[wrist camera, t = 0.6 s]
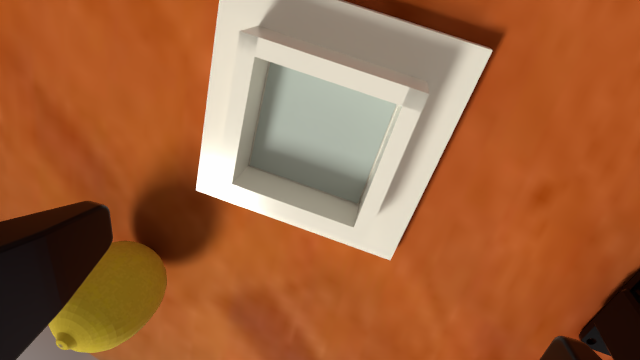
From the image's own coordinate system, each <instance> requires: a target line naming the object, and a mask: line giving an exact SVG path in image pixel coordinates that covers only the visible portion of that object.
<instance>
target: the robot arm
mask: <svg viewBox="0 0 640 360" xmlns="http://www.w3.org/2000/svg"><path fill="white" fill-rule="evenodd" d="M112 239H113V234H112V226H111V218H110V211H109V209H108V208H107V206H105V205H103V204H99V203H96V202H92V201H83V202H79V203H75V204H71V205H67V206H63V207H59V208H55V209H51V210H47V211H42V212H38V213H34V214H30V215H26V216H22V217H18V218H14V219H10V220H6V221H2V222H0V360H16V359H17V358H18V357H19V356H20V354H22V353H23V352H24V350H25V349H26V348H27V347H28V346H29V345H30V344H31V343H32V342H33V341H34V340H35V338H36V337H37V336H38V335H39V334H40V333H41V332H42V331H43V330H44V329H45V328H46V327H47V326H48V324H49V323H50V322H51V321H52V320H53V319H54V318H55V317H56V316H57V314H58V313H59V312H60V311H61V310H62V309H63V308H64V306H65V305H66V304H67V303H68V301H69V300H70V299H71V298H72V296H73V295H74V294H75V292H76V291H77V290H78V288H79V287H80V286H81V284H82V283H83V282H84V281H85V279H86V278H87V277H88V275H89V274H90V273H91V271H92V270H93V269H94V267H95V266H96V265H97V264H98V262H99V261H100V260H101V258H102V257H103V256H104V254H105V253H106V252H107V250H108V249H109V247H110V246H111V243H112ZM590 338H591V339H590ZM579 339H580V341H579V340H576V339H572V338H569V337H565V336H558V337H556V338H555V339H554V340H553V341H552V343H551V344H550V345H549V347H548V348H547V350H546V351H545V353H544V354H543V356H542V357H541V359H540V360H602V359H601V358H600V357H599V356H598V355H597V354H596V353H595V352H594V351H593V350H596V351H599V352H601V353H604V354H607V355H610V356H612V358H613V360H640V271H639V272H638V273H637V274H636V275H635V276H634V277H633V278H632V279H631V280H630V281H629V282H628V283H627V284H626V285H625V286H624V287H623V288H622V289H621V290H620V291H619V293H618V294H617V295H616V296H615V297H614V298H613V299H612V300H611V301H610V302H609V303H608V304H607V305H606V306H605V307H604V308H603V309H602V310H601V311H600V312H599V313H598V315H597V316H596V317H595V318H594V319H593V320H592V321H591V322H590V323H589V324H588V325H587V326H586V327H585V328H584V329H583V330H582V331H581V332H580V334H579ZM592 349H593V350H592Z"/></svg>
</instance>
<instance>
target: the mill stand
mask: <svg viewBox="0 0 640 360" xmlns="http://www.w3.org/2000/svg"><path fill="white" fill-rule="evenodd" d="M492 51H493V50H492V49H491V48H489V47H486V46H483V45H480V44H477V43H474V42H471V41H468V40H465V39H462V38H458V37H455V36H452V35H449V34H446V33H443V32H440V31H437V30H434V29H430V28H427V27H424V26H421V25H418V24H415V23H412V22H409V21H406V20H403V19H399V18H396V17H393V16H390V15H387V14H384V13H381V12H378V11H375V10H372V9H368V8H365V7H362V6H359V5H356V4H353V3H350V2H347V1H344V0H219V7H218V15H217V24H216V32H215V40H214V48H213V56H212V64H211V72H210V80H209V88H208V96H207V104H206V113H205V121H204V129H203V137H202V145H201V153H200V161H199V169H198V177H197V185H196V191H199V192H202V193H205V194H207V195H210V196H213V197H216V198H219V199H221V200H224V201H227V202H230V203H232V204H235V205H238V206H241V207H244V208H246V209H249V210H252V211H255V212H257V213H260V214H263V215H266V216H269V217H271V218H274V219H277V220H280V221H282V222H285V223H288V224H291V225H294V226H296V227H299V228H302V229H305V230H307V231H310V232H313V233H316V234H319V235H321V236H324V237H327V238H330V239H333V240H335V241H338V242H341V243H344V244H346V245H349V246H352V247H355V248H358V249H360V250H363V251H366V252H369V253H371V254H374V255H377V256H380V257H383V258H385V259H388V260H391V258H392V256H393V254H394V252H395V250H396V247H397V245H398V243H399V241H400V239H401V237H402V235H403V233H404V231H405V229H406V227H407V225H408V223H409V221H410V219H411V217H412V215H413V213H414V211H415V209H416V207H417V204H418V202H419V200H420V198H421V196H422V194H423V192H424V190H425V188H426V186H427V184H428V182H429V180H430V178H431V176H432V174H433V172H434V170H435V168H436V166H437V164H438V161H439V159H440V157H441V155H442V153H443V151H444V149H445V147H446V145H447V143H448V141H449V139H450V137H451V135H452V133H453V131H454V129H455V127H456V125H457V123H458V121H459V119H460V116H461V114H462V112H463V110H464V108H465V106H466V104H467V102H468V100H469V98H470V96H471V94H472V92H473V90H474V88H475V86H476V84H477V82H478V80H479V78H480V76H481V73H482V71H483V69H484V67H485V65H486V63H487V61H488V59H489V57H490V55H491V53H492Z"/></svg>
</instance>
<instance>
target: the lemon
mask: <svg viewBox="0 0 640 360" xmlns="http://www.w3.org/2000/svg"><path fill="white" fill-rule="evenodd" d="M166 285H167V276H166V269H165V267H164V264H163V262H162V260H161V258H160V257H159V256H158V255H157V254H156V253H155V251H154V250H152V249H150V248H149V247H147V246H145V245H143V244H140V243H137V242H131V241H119V242H113V243H111V246H110V247H109V249H108V250H107V252H106V253H105V254H104V256H103V257H102V258H101V260H100V261H99V262H98V264H97V265H96V266H95V267H94V269H93V270H92V271H91V273H90V274H89V275H88V277H87V278H86V279H85V281H84V282H83V283H82V284H81V286H80V287H79V288H78V290H77V291H76V292H75V294H74V295H73V296H72V298H71V299H70V300H69V301H68V303H67V304H66V305H65V306H64V308H63V309H62V310H61V311H60V312H59V313H58V314H57V316H56V317H55V318H54V319H53V320H52V321H51V322H50V323H49V327H50V329H51V332H52V334H53V335H54V337H55V338H56V345H57V346H58V347H59V348H61V349H63V350H67V349H72V350H75V351H78V352H87V353H93V352H100V351H105V350H109V349H112V348H114V347H116V346H118V345H119V344H121V343H123V342H125V341H126V340H128V339H129V338H131V337H132V336H133V335H134V334H136V333H137V332H138V331H139V330H140V329H141V328H142V327H143V326H144V325H145V324H146V323H147V322H148V321H149V320H150V318H151V317H152V316H153V314H154V313H155V312H156V310H157V309H158V307H159V305H160V304H161V302H162V299H163V297H164V293H165V289H166Z"/></svg>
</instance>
